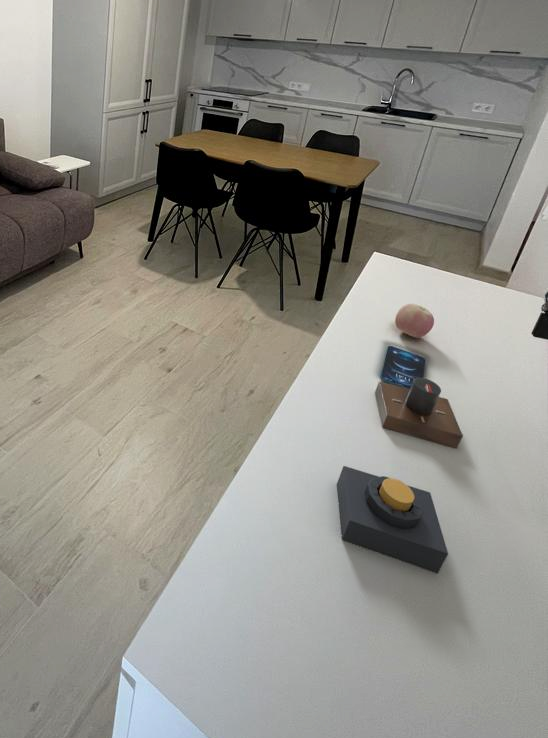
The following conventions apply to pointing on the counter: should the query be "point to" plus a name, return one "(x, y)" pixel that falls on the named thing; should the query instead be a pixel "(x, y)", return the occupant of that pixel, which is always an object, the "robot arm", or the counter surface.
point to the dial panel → (417, 417)
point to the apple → (414, 320)
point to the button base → (389, 522)
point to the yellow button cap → (396, 494)
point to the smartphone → (402, 367)
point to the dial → (423, 396)
